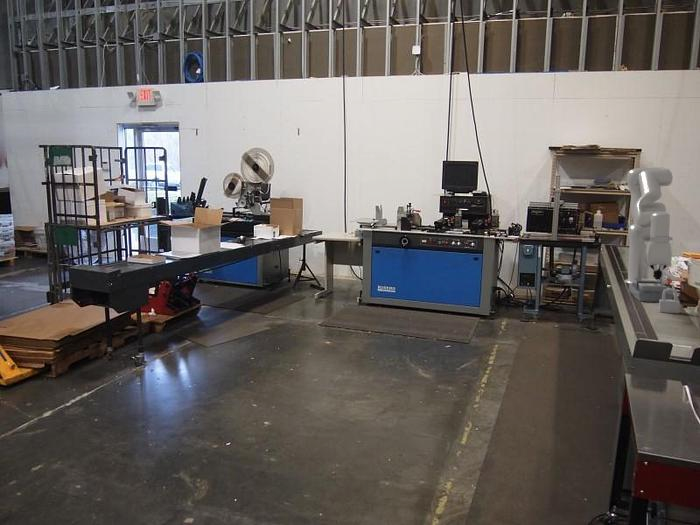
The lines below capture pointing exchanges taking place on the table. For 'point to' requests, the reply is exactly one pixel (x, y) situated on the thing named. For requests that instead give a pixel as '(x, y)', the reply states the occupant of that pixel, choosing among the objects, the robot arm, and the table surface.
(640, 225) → the robot arm
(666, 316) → the table surface
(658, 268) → the cable arm
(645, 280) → the chassis
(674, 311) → the padlock
